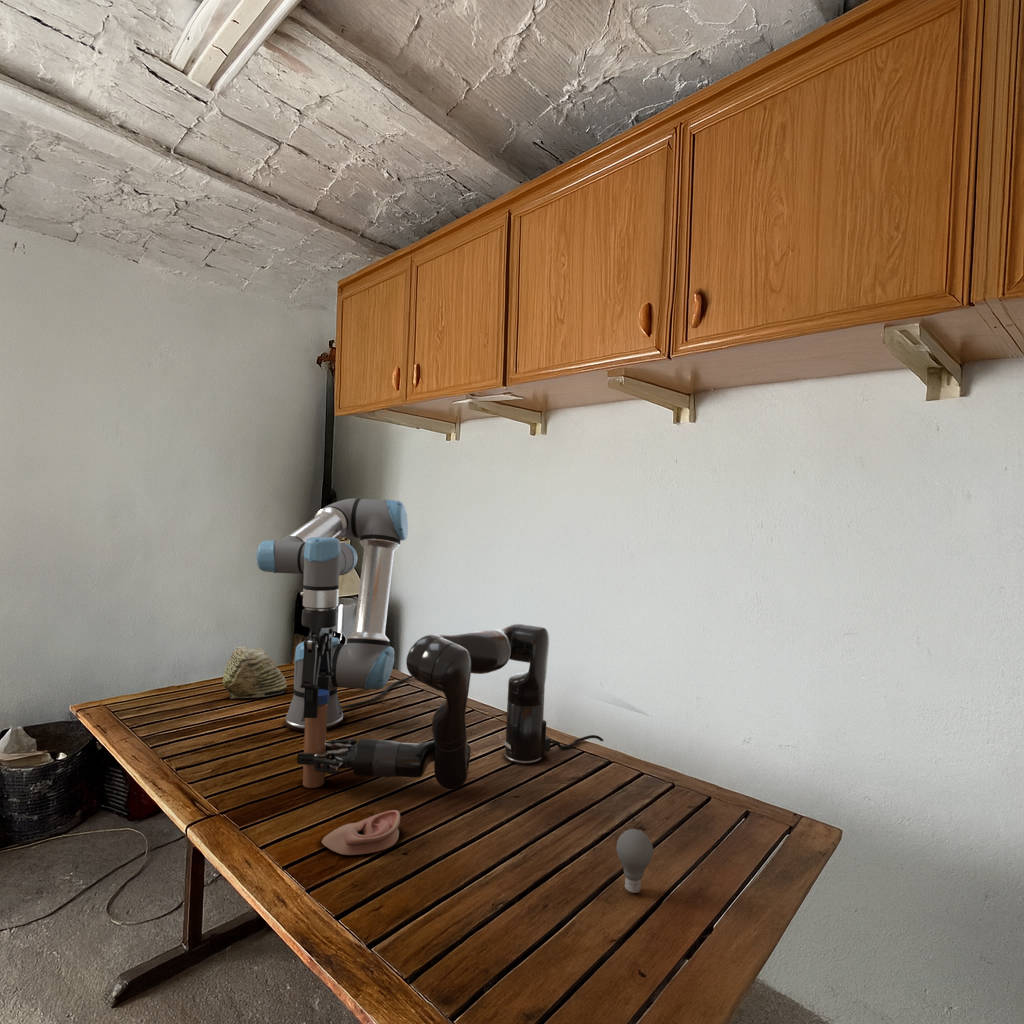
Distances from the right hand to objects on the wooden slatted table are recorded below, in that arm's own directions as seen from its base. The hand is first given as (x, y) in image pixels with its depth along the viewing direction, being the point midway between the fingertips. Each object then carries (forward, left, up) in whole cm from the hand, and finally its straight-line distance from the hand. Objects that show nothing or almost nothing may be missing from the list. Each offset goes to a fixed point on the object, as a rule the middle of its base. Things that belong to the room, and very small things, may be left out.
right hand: (302, 753), depth 140 cm
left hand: (-2, +1, +10) cm, 10 cm away
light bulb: (-49, +57, -6) cm, 75 cm away
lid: (-2, +1, +13) cm, 14 cm away
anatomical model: (-9, +28, -6) cm, 30 cm away
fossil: (+9, -67, -6) cm, 68 cm away
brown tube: (-2, +1, -6) cm, 7 cm away
